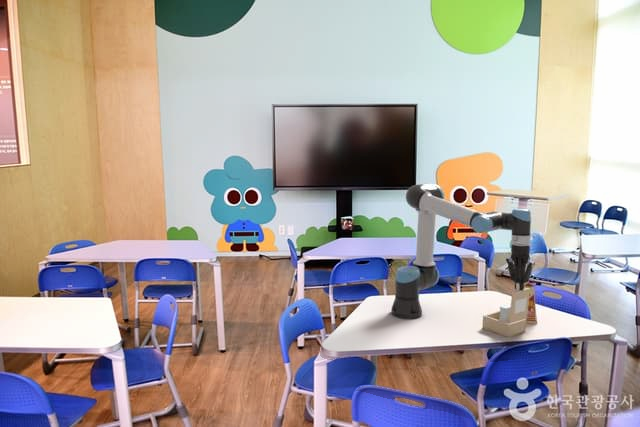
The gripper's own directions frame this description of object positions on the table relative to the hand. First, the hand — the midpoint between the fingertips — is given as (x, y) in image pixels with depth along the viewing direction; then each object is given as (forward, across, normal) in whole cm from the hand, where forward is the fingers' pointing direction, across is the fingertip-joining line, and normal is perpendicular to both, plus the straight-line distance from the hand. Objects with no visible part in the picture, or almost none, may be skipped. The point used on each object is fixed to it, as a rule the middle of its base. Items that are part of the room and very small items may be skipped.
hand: (519, 297), depth 214 cm
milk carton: (+17, -10, +21) cm, 29 cm away
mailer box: (+17, -7, 0) cm, 18 cm away
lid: (+3, 0, 0) cm, 3 cm away
